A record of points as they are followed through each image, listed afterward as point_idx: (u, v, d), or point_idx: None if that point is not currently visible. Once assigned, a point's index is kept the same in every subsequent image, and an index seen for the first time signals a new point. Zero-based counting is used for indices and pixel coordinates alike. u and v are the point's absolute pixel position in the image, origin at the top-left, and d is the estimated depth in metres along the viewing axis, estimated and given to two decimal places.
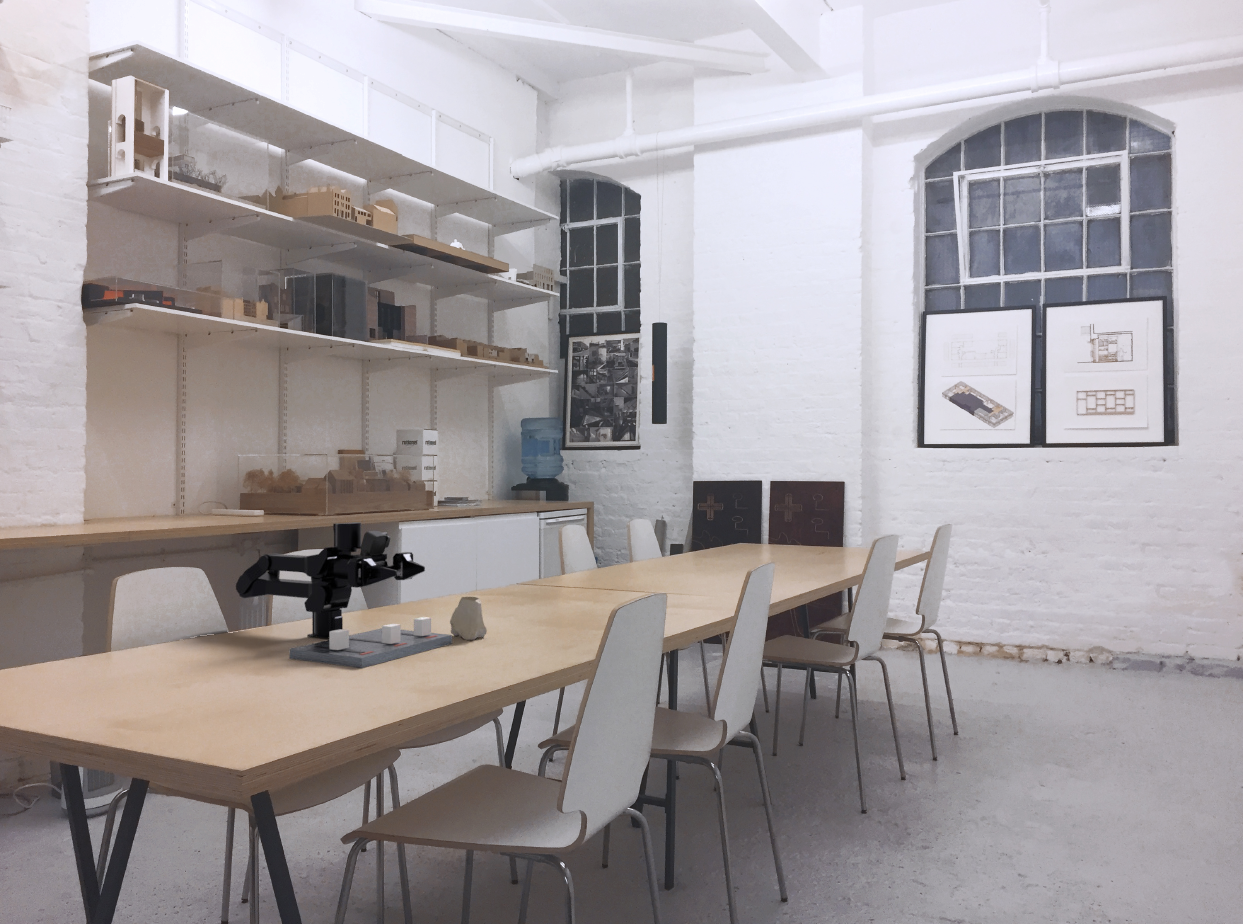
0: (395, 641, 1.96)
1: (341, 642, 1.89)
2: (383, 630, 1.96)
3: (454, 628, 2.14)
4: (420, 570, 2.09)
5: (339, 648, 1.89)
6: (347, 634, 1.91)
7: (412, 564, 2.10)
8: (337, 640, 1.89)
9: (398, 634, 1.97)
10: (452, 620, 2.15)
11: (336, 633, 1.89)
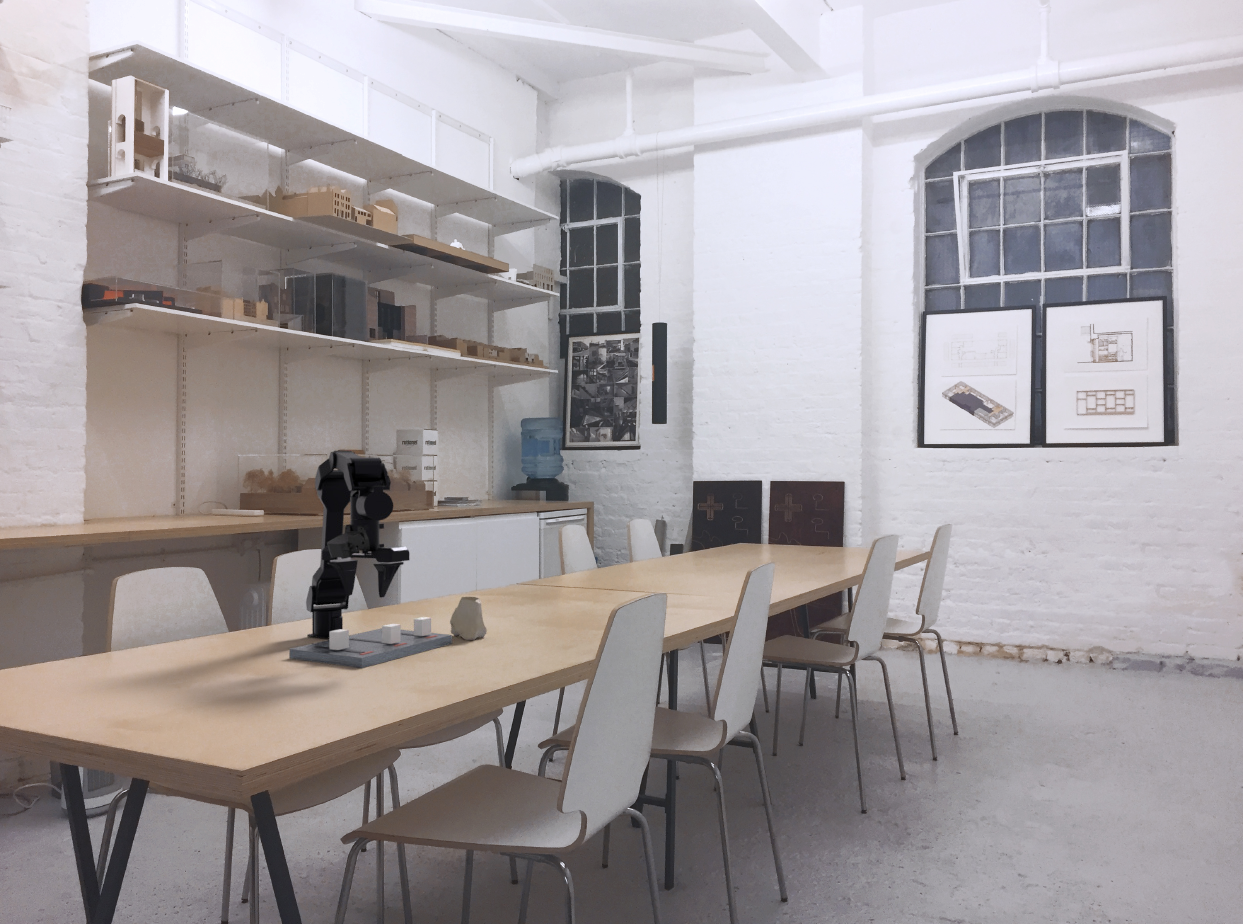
0: (395, 641, 1.96)
1: (341, 642, 1.89)
2: (383, 630, 1.96)
3: (454, 628, 2.14)
4: None
5: (339, 648, 1.89)
6: (347, 634, 1.91)
7: None
8: (337, 640, 1.89)
9: (398, 634, 1.97)
10: (452, 620, 2.15)
11: (336, 633, 1.89)
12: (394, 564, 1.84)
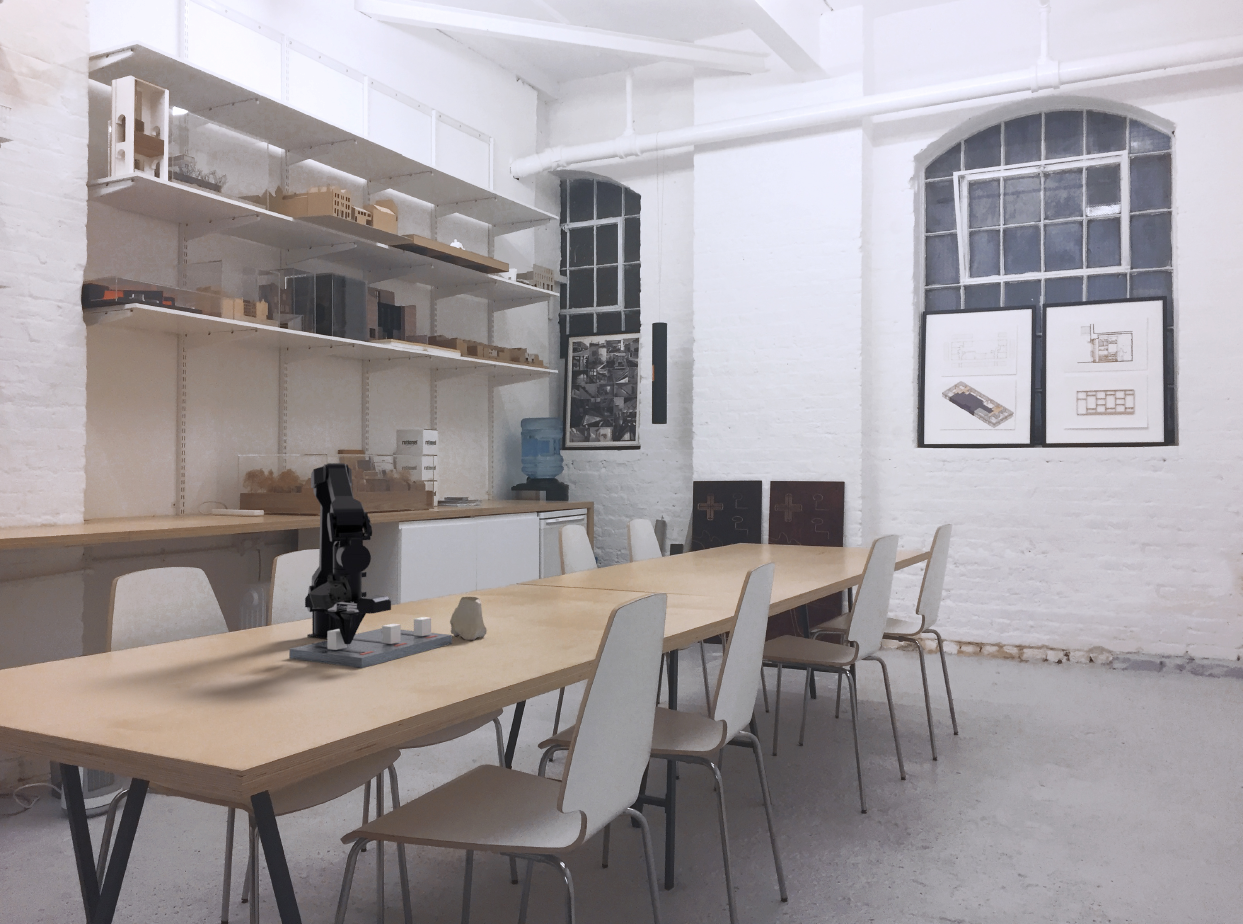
0: (395, 641, 1.96)
1: (339, 642, 1.89)
2: (383, 630, 1.96)
3: (454, 628, 2.14)
4: None
5: (337, 648, 1.89)
6: None
7: None
8: (335, 640, 1.89)
9: (398, 634, 1.97)
10: (452, 620, 2.15)
11: (334, 633, 1.89)
12: (360, 612, 1.88)
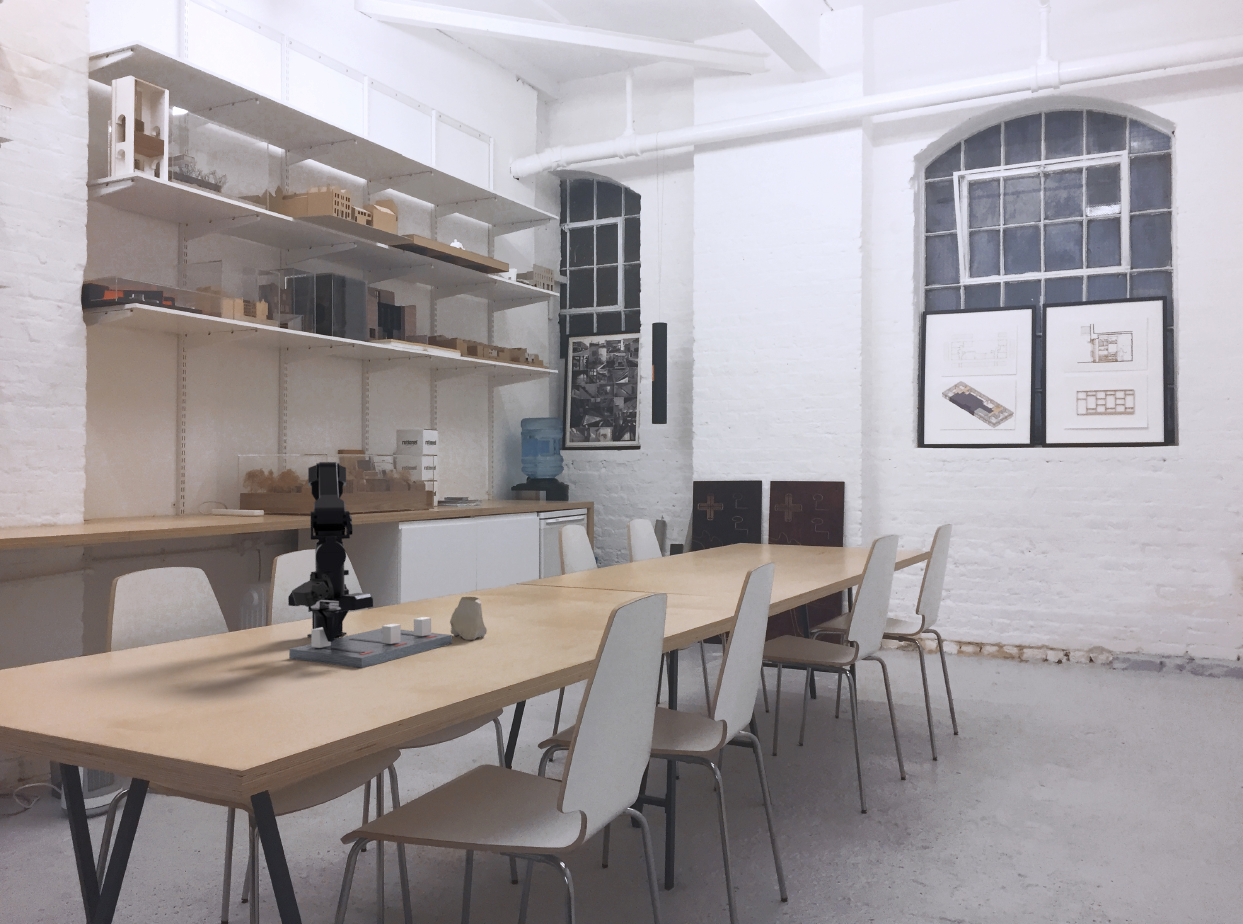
0: (395, 641, 1.96)
1: (322, 640, 1.92)
2: (383, 630, 1.96)
3: (454, 628, 2.14)
4: None
5: (321, 646, 1.91)
6: None
7: None
8: (319, 638, 1.91)
9: (398, 634, 1.97)
10: (452, 620, 2.15)
11: (318, 631, 1.91)
12: (342, 610, 1.90)
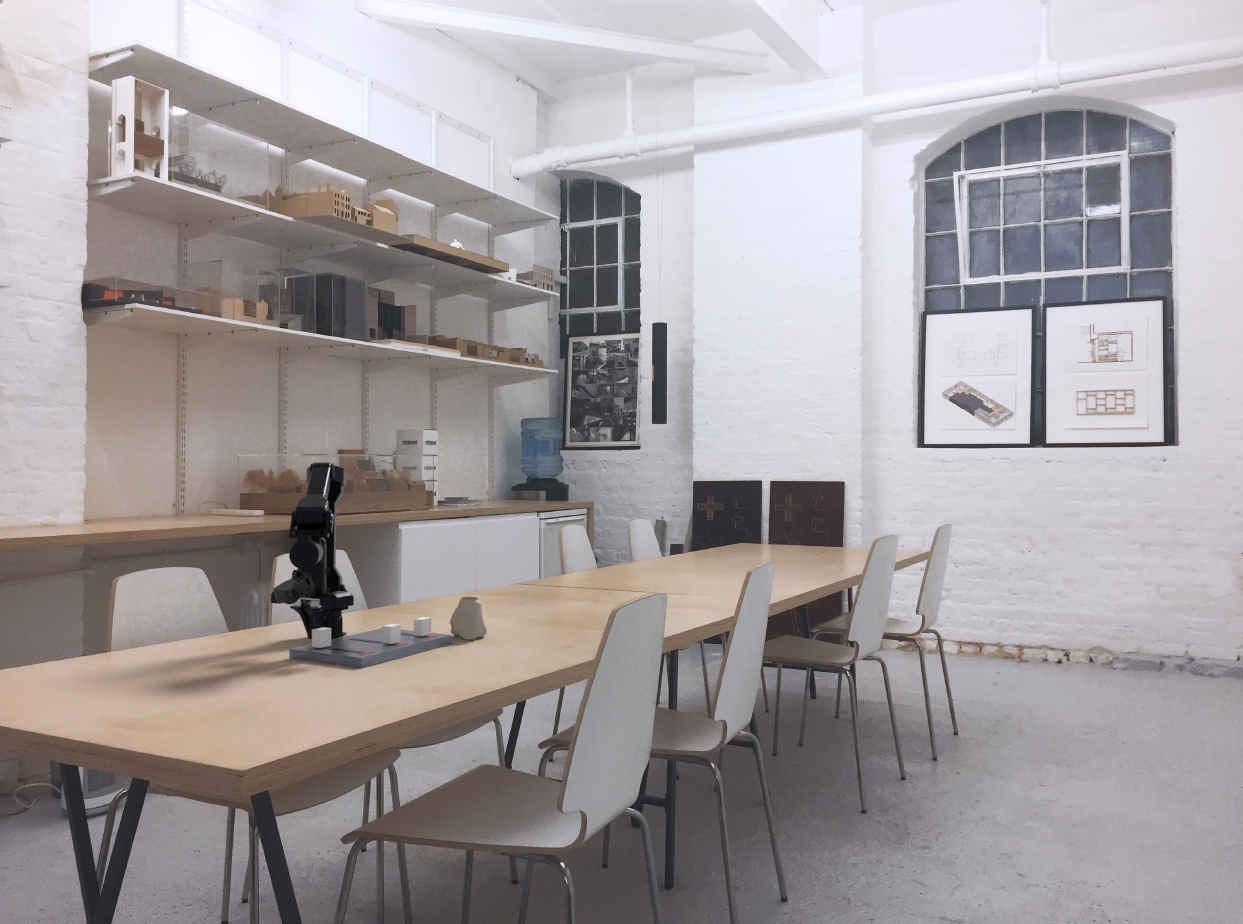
0: (395, 641, 1.96)
1: (323, 640, 1.92)
2: (383, 630, 1.96)
3: (454, 628, 2.14)
4: None
5: (321, 646, 1.91)
6: (329, 632, 1.93)
7: None
8: (320, 638, 1.91)
9: (398, 634, 1.97)
10: (452, 620, 2.15)
11: (318, 631, 1.91)
12: (324, 608, 1.92)
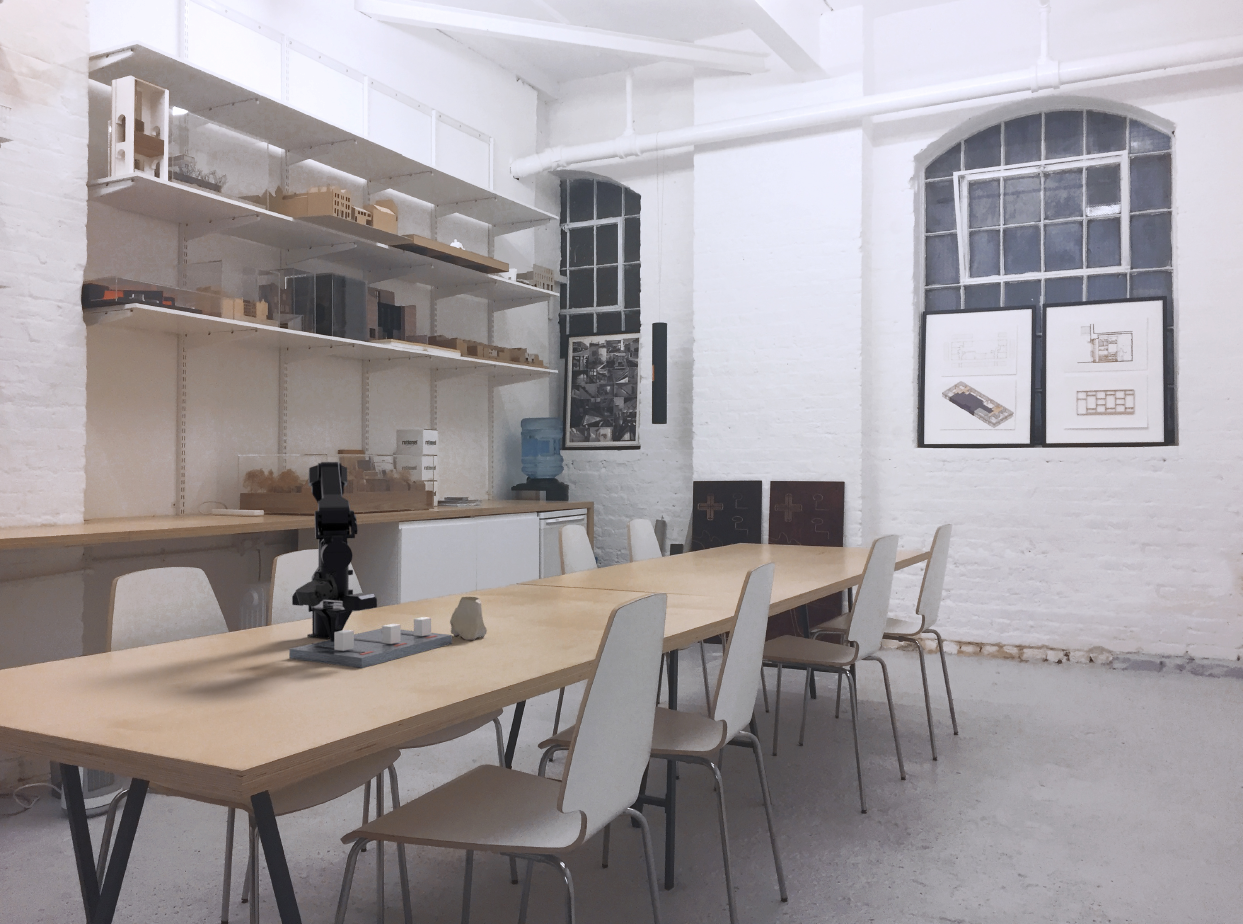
0: (395, 641, 1.96)
1: (346, 643, 1.89)
2: (383, 630, 1.96)
3: (454, 628, 2.14)
4: None
5: (344, 649, 1.88)
6: (352, 635, 1.90)
7: None
8: (342, 641, 1.88)
9: (398, 634, 1.97)
10: (452, 620, 2.15)
11: (341, 634, 1.88)
12: (346, 610, 1.89)
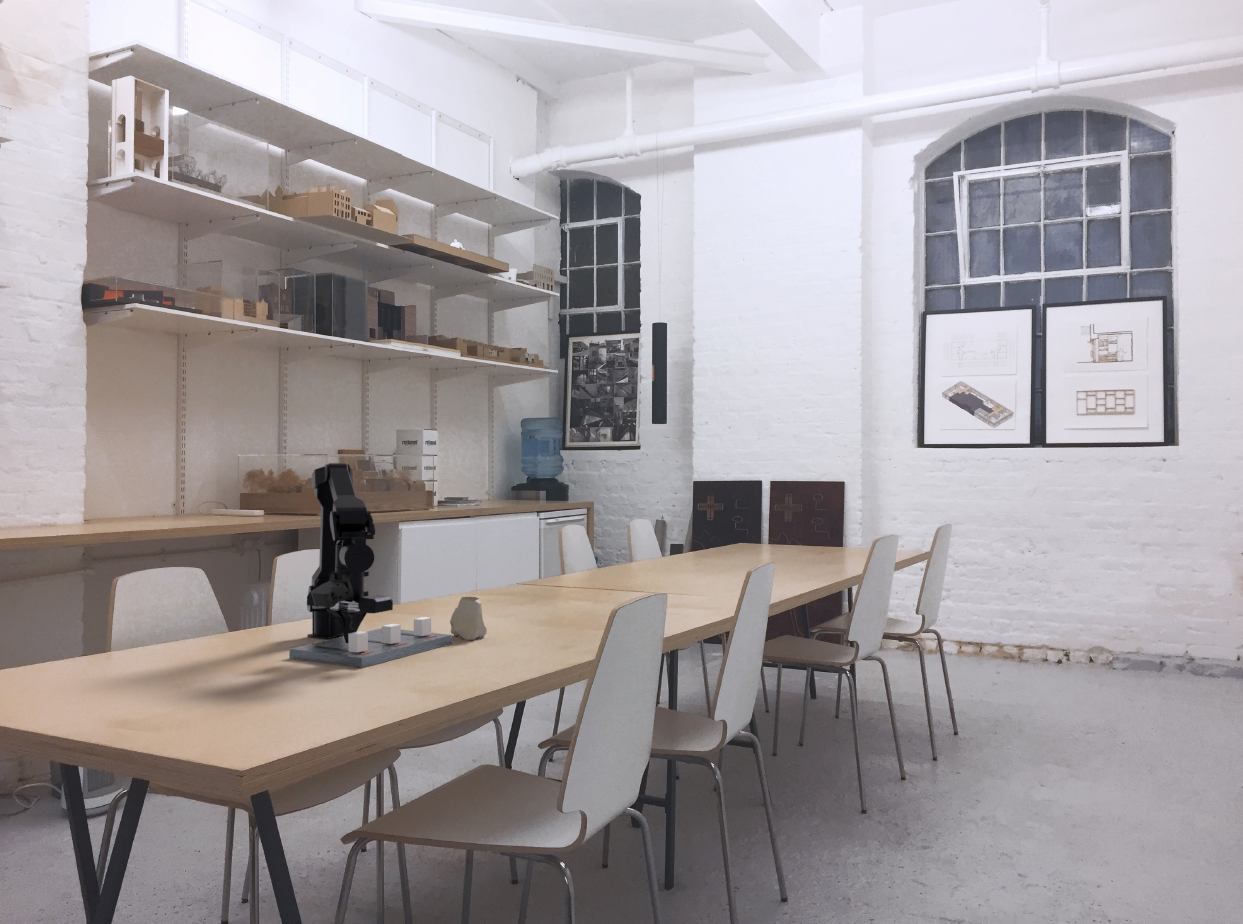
0: (395, 641, 1.96)
1: (360, 645, 1.87)
2: (383, 630, 1.96)
3: (454, 628, 2.14)
4: None
5: (358, 650, 1.86)
6: (366, 636, 1.88)
7: None
8: (357, 642, 1.86)
9: (398, 634, 1.97)
10: (452, 620, 2.15)
11: (355, 635, 1.86)
12: (361, 612, 1.87)
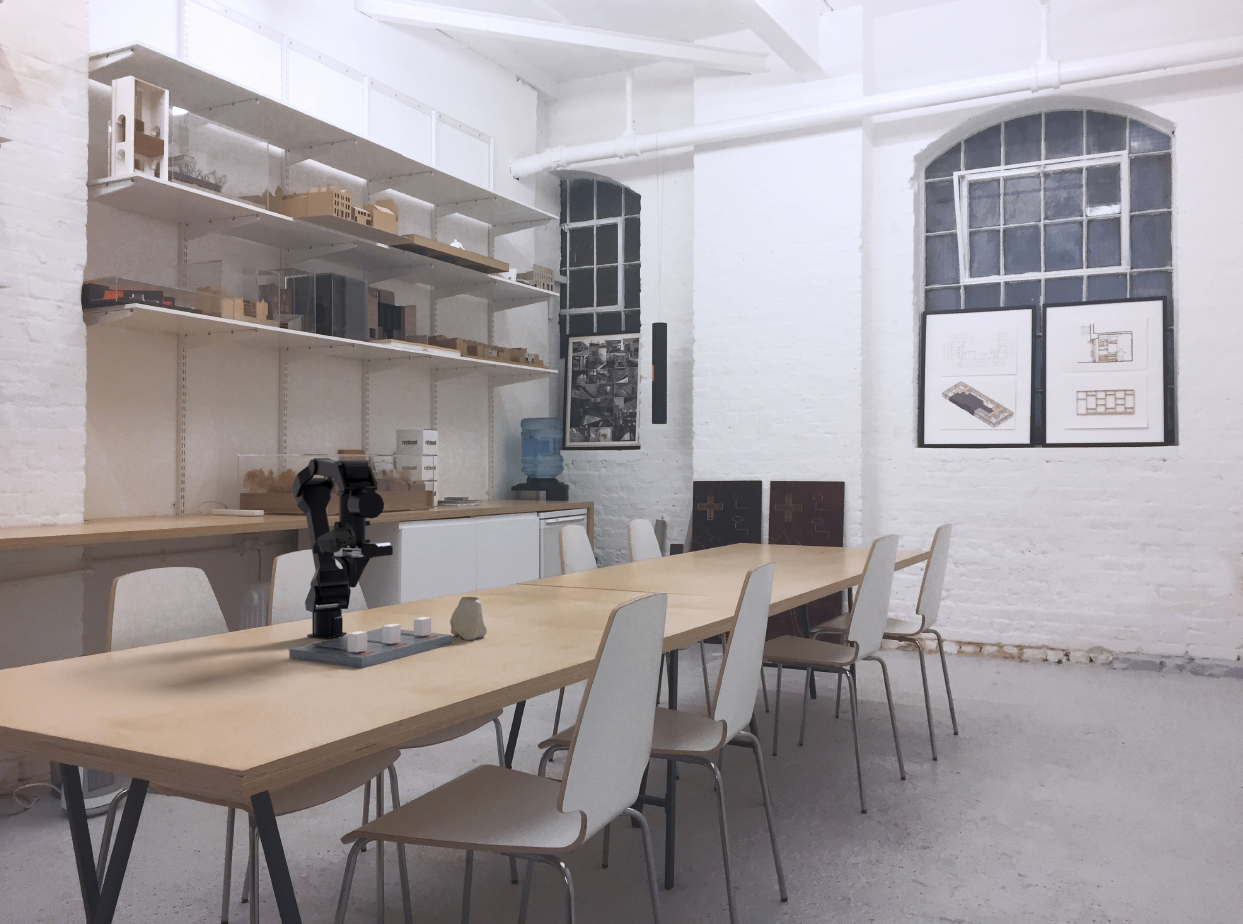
0: (395, 641, 1.96)
1: (359, 645, 1.87)
2: (383, 630, 1.96)
3: (454, 628, 2.14)
4: None
5: (357, 650, 1.86)
6: (365, 636, 1.88)
7: None
8: (356, 642, 1.86)
9: (398, 634, 1.97)
10: (452, 620, 2.15)
11: (354, 635, 1.86)
12: (364, 557, 2.03)
